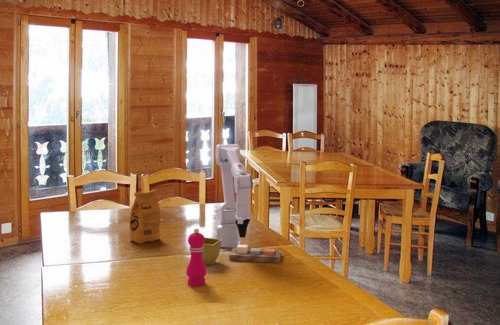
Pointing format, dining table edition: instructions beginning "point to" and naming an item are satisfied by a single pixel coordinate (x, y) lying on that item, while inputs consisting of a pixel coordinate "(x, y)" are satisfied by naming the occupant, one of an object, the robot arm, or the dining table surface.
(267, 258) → the walnut bezel
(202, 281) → the pepper mill
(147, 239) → the coffee package
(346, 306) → the dining table surface
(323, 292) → the dining table surface
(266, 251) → the brick key
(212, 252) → the flower pot
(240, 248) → the ivory key
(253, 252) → the slate key
